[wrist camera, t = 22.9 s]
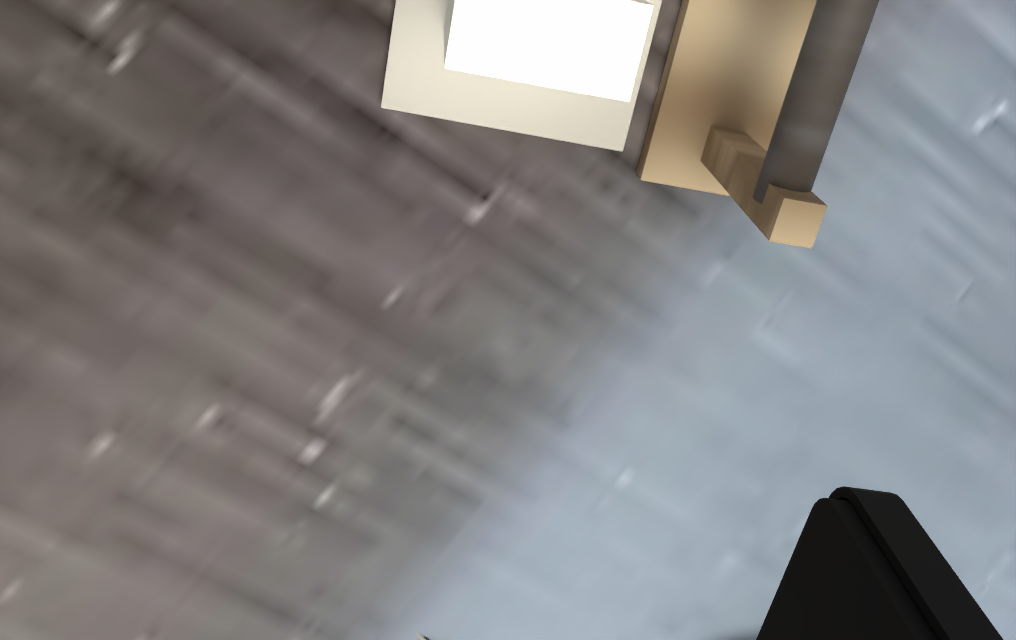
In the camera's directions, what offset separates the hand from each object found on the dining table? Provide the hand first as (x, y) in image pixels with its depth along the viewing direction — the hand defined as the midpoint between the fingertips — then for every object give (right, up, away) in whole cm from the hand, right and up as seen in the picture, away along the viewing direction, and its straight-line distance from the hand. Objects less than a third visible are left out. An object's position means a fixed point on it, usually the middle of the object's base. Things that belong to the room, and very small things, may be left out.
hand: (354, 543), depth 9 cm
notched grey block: (+2, +14, +26) cm, 30 cm away
